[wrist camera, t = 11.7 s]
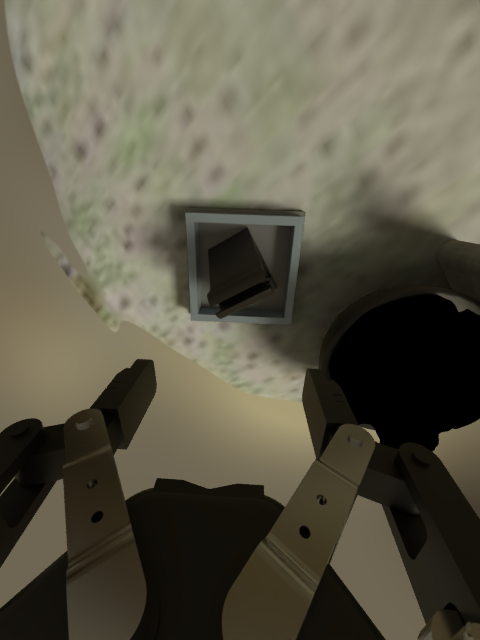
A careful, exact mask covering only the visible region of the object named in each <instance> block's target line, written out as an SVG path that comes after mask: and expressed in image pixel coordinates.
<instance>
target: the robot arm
mask: <svg viewBox="0 0 480 640" xmlns="http://www.w3.org/2000/svg"><path fill="white" fill-rule="evenodd" d="M154 369H155V368H154V362H153V360H145V359H137V360H136V361H135V362H134V364H133V365H132V366H131V368H126V369H124V370H122V371H121V372H119V373H118V374H117V375H116V376H115V377H114V379H113V380H112V382H111V383H110V384H109V385H108V386H107V388H106V389H105V390H104V391H103V392H102V394H101V395H100V396H99V398H98V399H97V400H96V401H95V402H94V404H93V405H92V406H91V407H90V409H85V410H82V411H80V412H78V413H76V414H74V415H73V416H71V417H70V418H69V419H68V420H67V421H66V422H65V423H64V424H59V425H54V426H48V427H43V425H42V422H41V421H40V420H38V419H33V418H32V419H25V420H21V421H19V422H16V423H14V424H12V425H10V426H9V427H7V428H6V429H4V430H3V431H2V432H1V433H0V494H1V492H2V491H3V490H4V489H5V487H6V486H7V485H8V484H9V482H10V481H11V480H12V479H13V477H14V476H15V479H14V480H13V481H12V482H11V484H10V485H9V486H8V488H7V489H6V490H5V491H4V493H3V494H2V495H1V496H0V567H1V566H2V564H3V563H4V561H5V560H6V558H7V557H8V555H9V554H10V552H11V550H12V549H13V547H14V546H15V544H16V543H17V541H18V540H19V538H20V536H21V535H22V533H23V532H24V530H25V529H26V527H27V526H28V524H29V522H30V521H31V520H32V518H33V516H34V515H35V513H36V512H37V510H38V509H39V507H40V506H41V504H42V503H43V501H44V499H45V498H46V496H47V495H48V493H49V492H50V490H51V488H52V487H53V486H54V484H55V482H56V481H57V480H60V479H63V484H64V499H65V501H64V502H65V519H66V534H67V551H66V552H65V553H64V554H63V555H61V556H60V557H59V558H58V559H57V560H56V561H55V562H53V563H52V564H51V565H50V566H49V567H48V568H46V569H45V570H44V571H43V572H42V573H41V574H40V575H39V576H37V577H36V578H35V579H34V580H33V581H32V582H30V583H29V584H28V585H27V586H26V587H25V588H23V589H22V590H21V591H20V592H19V593H18V594H16V595H15V596H14V597H13V598H12V599H11V600H10V601H8V602H7V603H6V604H5V605H4V606H3V607H1V608H0V640H385V638H384V637H383V636H382V634H381V633H380V631H379V630H378V629H377V627H376V626H375V625H374V623H373V622H372V621H371V619H370V618H369V617H368V615H367V614H366V613H365V611H364V610H363V609H362V607H361V606H360V605H359V603H358V602H357V601H356V599H355V598H354V596H353V595H352V594H351V592H350V591H349V590H348V588H347V587H346V586H345V584H344V583H343V582H342V580H341V579H340V578H339V576H338V575H337V574H336V572H335V571H334V569H333V568H332V567H331V566H330V563H331V560H332V558H333V556H334V553H335V551H336V548H337V545H338V543H339V540H340V538H341V535H342V532H343V530H344V527H345V525H346V522H347V520H348V517H349V514H350V512H351V510H352V507H353V505H354V502H355V500H356V497H357V495H360V496H362V497H365V498H367V499H370V500H372V501H375V502H377V503H380V504H382V506H383V509H384V511H385V514H386V517H387V520H388V523H389V525H390V528H391V531H392V534H393V536H394V539H395V542H396V544H397V547H398V550H399V552H400V555H401V558H402V561H403V563H404V566H405V568H406V571H407V574H408V577H409V579H410V582H411V585H412V588H413V590H414V593H415V596H416V598H417V601H418V604H419V607H420V609H421V612H422V615H423V617H424V620H425V623H426V625H425V627H424V628H423V629H422V630H421V631H420V633H419V635H418V639H417V640H480V519H479V517H478V516H477V515H476V513H475V511H474V510H473V509H472V507H471V506H470V504H469V502H468V501H467V500H466V498H465V496H464V495H463V493H462V492H461V490H460V489H459V487H458V486H457V484H456V483H455V481H454V480H453V478H452V477H451V475H450V474H449V472H448V471H447V469H446V468H445V466H444V465H443V463H442V462H441V460H440V459H439V458H438V457H437V456H436V455H435V454H434V453H433V452H432V451H430V450H429V449H427V448H426V447H424V446H422V445H419V444H416V443H410V442H408V443H403V444H402V445H401V446H400V448H399V450H398V449H395V448H392V447H389V446H386V445H383V444H380V443H377V442H375V441H374V439H373V437H372V436H371V435H370V433H369V432H367V431H366V430H365V429H363V428H362V427H359V425H358V423H357V421H356V418H355V416H354V414H353V412H352V410H351V408H350V406H349V404H348V403H347V400H346V397H345V396H344V393H343V391H342V389H341V387H340V386H339V385H338V384H337V383H336V382H335V381H334V380H328V379H327V378H326V376H325V373H324V371H323V370H322V369H307V370H306V375H305V381H304V387H303V394H302V401H303V406H304V411H305V414H306V418H307V423H308V427H309V431H310V435H311V439H312V443H313V447H314V451H315V455H316V459H315V461H314V462H313V464H312V465H311V467H310V469H309V470H308V472H307V473H306V475H305V476H304V478H303V479H302V481H301V483H300V484H299V486H298V488H297V489H296V491H295V492H294V494H293V495H292V497H291V499H290V500H289V502H288V503H287V505H286V507H284V506H283V505H282V504H281V503H279V502H278V501H276V500H274V499H273V498H271V497H268V496H266V495H264V486H263V485H249V484H233V485H228V486H223V487H218V488H213V489H206V488H204V487H201V486H198V485H196V484H193V483H190V482H187V481H184V480H176V479H161V478H157V480H156V483H155V485H154V488H150V489H147V490H144V491H141V492H139V493H137V494H135V495H134V496H132V497H130V498H129V499H127V500H126V501H125V498H124V494H123V490H122V486H121V483H120V478H119V475H118V471H117V467H116V463H115V459H114V454H115V452H116V450H117V449H127V448H128V446H129V444H130V442H131V440H132V438H133V436H134V434H135V432H136V430H137V428H138V427H139V425H140V423H141V421H142V419H143V417H144V415H145V413H146V411H147V409H148V407H149V405H150V403H151V401H152V399H153V398H154V395H155V393H156V385H157V383H156V376H155V370H154Z"/></svg>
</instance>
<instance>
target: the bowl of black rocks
mask: <svg viewBox="0 0 480 640" xmlns="http://www.w3.org/2000/svg"><path fill="white" fill-rule="evenodd" d="M319 369H322V370H323V371H324V373H325V376H326V378H327V379H328V380H334V381H335V382H336V383H337V384H338V385H339V386H340V387H341V389H342V391H343V393H344V396H345V397H346V400H347V403H348V404H349V406H350V408H351V410H352V412H353V414H354V416H355V418H356V421H357V423H358V425H359V426H360V427H364V428H367V429H372V430H376V433H377V435H378V437H379V439H380V444H383V445H386V446H389V447H392V448H395V449H398V450H399V448H400V446H401V445H402V444H403V443H408V442H410V443H416V444H419V445H422V446H424V447H426V448H427V449H429V450H430V451H434V450H435V448H436V446H438V444H439V438H438V437H439V433H441V432H445V431H449V430H451V429H452V428H453V429H458V428H461V427H463V426H466V425H469V424H471V423H473V422H475V421H476V420H478V419H480V302H479V301H477V300H476V299H474V298H473V297H471V296H469V295H467V294H464V293H461V292H458V291H455V290H451V289H447V288H443V287H437V286H429V285H405V286H396V287H391V288H387V289H383V290H380V291H377V292H374V293H371V294H369V295H367V296H365V297H363V298H361V299H359V300H357V301H356V302H354V303H353V304H351V305H350V306H349V307H347V308H346V309H345V310H344V311H343V312H342V313H341V314H340V315H339V316H338V317H337V318H336V319H335V321H334V322H333V323H332V325H331V326H330V328H329V330H328V332H327V334H326V336H325V338H324V340H323V343H322V347H321V351H320V356H319Z"/></svg>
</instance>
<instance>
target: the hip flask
mask: <svg viewBox="0 0 480 640" xmlns="http://www.w3.org/2000/svg"><path fill="white" fill-rule="evenodd" d="M437 259H438V261H439V263H440V265H441V267H442V269H443V270H444V273H445V275H446V277H447V280H448V282H449V285H450V289H451V290H455V291H458V292H461V293H464V294H467V295H469V296H471V297H473V298H474V299H476V300H477V301H479V302H480V244H475V243H469V242H464V241H458V240H450V241H447V242H445V243H444V244H443V245H442V246H441V247H440V248H439V250H438V252H437Z"/></svg>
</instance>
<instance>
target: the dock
mask: <svg viewBox="0 0 480 640" xmlns="http://www.w3.org/2000/svg"><path fill="white" fill-rule="evenodd" d="M185 216H186V234H187V253H188V271H189V290H190V308H191V320H193V321H214V322H235V323H256V324H278V325H291V320H292V313H293V305H294V297H295V289H296V282H297V274H298V266H299V259H300V251H301V243H302V235H303V228H304V220H305V212H298V211H270V210H242V209H215V208H186V213H185ZM247 227H248V229H249V231H250V233H251V235H252V237H253V239H254V241H255V243H256V245H257V247H258V249H259V251H260V253H261V255H262V257H263V259H264V261H265V263H266V265H267V267H268V269H269V271H270V273H271V275H272V277H273V279H274V281H275V283H276V285H277V288H275V289H273V291H274V294H272V295H270V296H268V297H266V298H264V299H262V300H260V301H257V302H255V303H253V304H251V305H249V306H247V307H245V308H243V309H241V310H239V311H237V312H235V313H233V314H231V315H228V316H226V317H224V318H222V319H219V318H218V317H217V316H216V315H215V313H217V312H219V311H221V310H220V306H219V304H216V305H214V306H212V307H210V305H209V302H208V299H207V293H208V292H209V291H210V276H209V259H208V249H210V248H212V247H214V246H215V245H217V244H219V243H221V242H223V241H224V240H226V239H228V238H230V237H231V236H233V235H235V234H237V233H239V232H240V231H242V230H244V229H246V228H247Z"/></svg>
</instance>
